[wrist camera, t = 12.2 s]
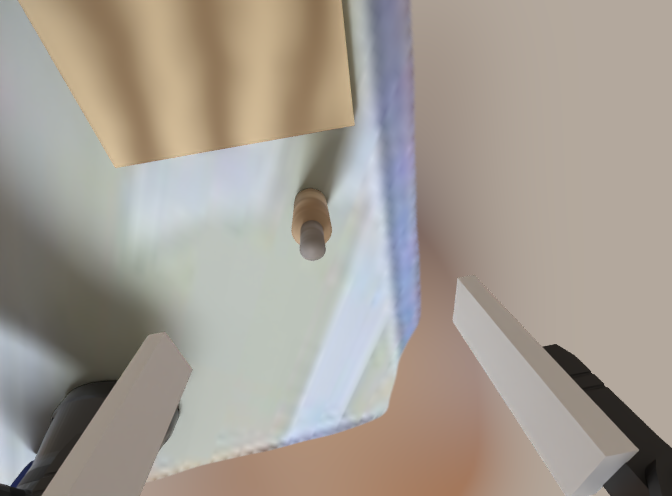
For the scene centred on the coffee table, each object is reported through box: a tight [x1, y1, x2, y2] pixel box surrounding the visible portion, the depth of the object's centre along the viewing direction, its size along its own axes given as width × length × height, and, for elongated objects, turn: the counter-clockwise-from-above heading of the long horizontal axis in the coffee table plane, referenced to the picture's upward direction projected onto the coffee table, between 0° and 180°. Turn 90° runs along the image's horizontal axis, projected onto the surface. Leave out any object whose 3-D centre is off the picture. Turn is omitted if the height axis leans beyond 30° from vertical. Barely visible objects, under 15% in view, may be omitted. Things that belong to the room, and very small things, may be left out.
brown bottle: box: [292, 188, 332, 261], centre depth 22 cm, size 3×3×9 cm
